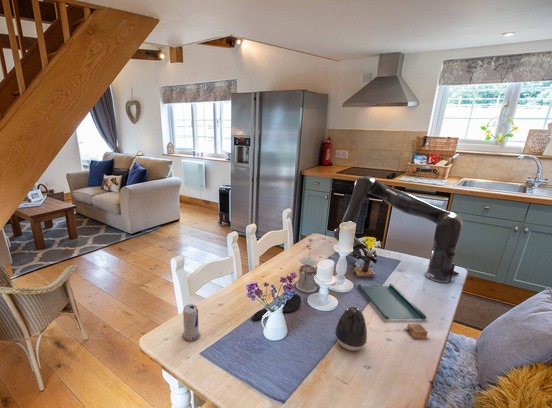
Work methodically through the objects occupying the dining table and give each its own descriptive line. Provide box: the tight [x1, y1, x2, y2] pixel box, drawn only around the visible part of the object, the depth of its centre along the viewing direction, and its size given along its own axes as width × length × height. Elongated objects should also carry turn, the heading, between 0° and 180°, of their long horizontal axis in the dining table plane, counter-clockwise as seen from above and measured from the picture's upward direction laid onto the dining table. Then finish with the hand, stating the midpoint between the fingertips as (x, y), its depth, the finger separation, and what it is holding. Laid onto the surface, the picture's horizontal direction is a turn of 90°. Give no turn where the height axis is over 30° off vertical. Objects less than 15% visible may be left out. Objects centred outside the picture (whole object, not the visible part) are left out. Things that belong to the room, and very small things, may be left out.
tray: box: [357, 283, 427, 320], centre depth 133 cm, size 24×16×2 cm, turn 0°
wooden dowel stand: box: [353, 253, 376, 278], centre depth 152 cm, size 5×8×13 cm, turn 90°
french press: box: [295, 237, 319, 294], centre depth 142 cm, size 10×12×25 cm
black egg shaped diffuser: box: [334, 306, 368, 352], centre depth 108 cm, size 10×10×15 cm
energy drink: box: [182, 304, 199, 342], centre depth 113 cm, size 5×5×12 cm
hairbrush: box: [252, 292, 302, 322], centre depth 129 cm, size 8×4×25 cm
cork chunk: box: [406, 323, 428, 340], centre depth 114 cm, size 4×4×3 cm
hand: (371, 261), depth 147 cm, fingers open, 3 cm apart
